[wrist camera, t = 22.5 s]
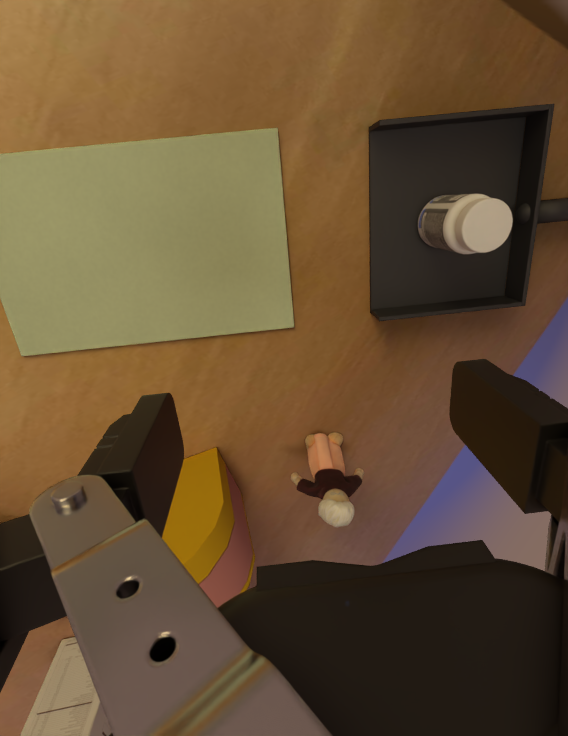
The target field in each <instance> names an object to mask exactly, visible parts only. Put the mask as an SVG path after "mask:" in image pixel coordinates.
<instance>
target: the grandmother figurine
mask: <svg viewBox="0 0 568 736" xmlns="http://www.w3.org/2000/svg"><path fill="white" fill-rule="evenodd" d="M342 442H343V436H342V435H341V434H340V433H335V432H334V433H331V434H329V435H328V436H326V435H325V434H322V433H318V434H312V435H309V436H307V437H306V439H305V444H306V447H307V450H308V461H309V466H310V470H311V473H312V476H313V478H314V480H315V483H313V482H311V481H309V480H306V479H303V478H302V477H300V475H299V474H298V473H293V474H292V475H291V480H292V481H293V482H294V483H295V485H296V486H297V490H298V491H300V492H303V493H305V494H307V495H309V496H313V497H319V498H321V499H323V500H322V501H321V502H320V504H319V508H318V510H319V514H318V515H319V516H321V517H322V519H323V520H324V521H325V522H327V523H328V524H330V525H333V526H334V527H340V526H346V525H348V524H349V523H350V522H351V521H352V519H353V516H354V511H355V510H354V506H353V505H352V503H350V501H349V498H348V497H350V496H351V495H352V494H353V493H354V492H355V491H356V490H357V488H358V487H359V486H360V485H361V483H362V478H363V475H364V471H363V470H362V469H361V468H357V469H356V470H355V472H354V474H353V476H346V477H345V473H346V471H345V465H344V461H343V456H342V452H341V448H340V446H341V444H342Z"/></svg>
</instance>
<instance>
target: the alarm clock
mask: <svg viewBox="0 0 568 736" xmlns="http://www.w3.org/2000/svg"><path fill="white" fill-rule="evenodd" d="M162 539H163V540H164V542H165V543H166V544H167V545H168V547H169V548H170V549H171V550H172V552H173V553H174V554H175V555H176V557H177V558H178V559H179V560H180V562H181V563H182V564H183V565H184V567H185V568H186V569H187V570H188V572H189V573H190V574H191V576H192V577H193V578H194V579H195V581H196V582H197V583H198V584H199V586H200V587H201V588H202V589H203V591H204V592H205V593H206V594H207V596H208V597H209V598H210V599H211V601H212V602H213V603H214V604H215V606H216V607H217V608H218V607H219V606H221V605H222V604H223V603H225V602H227V601H228V600H230V599H231V598H233V597H234V596H236V595H238V594H240V593H242V592H244V591H246V590H247V588H248V587H249V585H250V580H251V575H252V571H253V566H254V561H255V554H254V550H253V546H252V541H251V537H250V532H249V527H248V522H247V517H246V513H245V508H244V503H243V498H242V494H241V492H240V490H239V488H238V487H237V485H236V483H235V481H234V479H233V477H232V475H231V474H230V472H229V470H228V468H227V466H226V465H225V463H224V461H223V459H222V457H221V455H220V453H219V451H218V450H217V448H213V449H210V450H207V451H205V452H202V453H199V454H196V455H194V456H191V457H188V458H186V459H183V465H182V468H181V472H180V475H179V479H178V482H177V486H176V489H175V493H174V497H173V500H172V504H171V507H170V511H169V514H168V518H167V521H166V525H165V528H164V532H163V536H162Z"/></svg>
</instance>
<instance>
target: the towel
mask: <svg viewBox="0 0 568 736" xmlns="http://www.w3.org/2000/svg"><path fill="white" fill-rule="evenodd" d="M0 299H1V302H2V304H3V307H4V310H5V312H6V315H7V318H8V320H9V323H10V326H11V329H12V331H13V334H14V337H15V339H16V342H17V345H18V348H19V350H20V353H21V356H29V355H38V354H47V353H57V352H66V351H76V350H85V349H95V348H104V347H113V346H123V345H132V344H142V343H151V342H161V341H170V340H179V339H189V338H198V337H208V336H217V335H227V334H236V333H245V332H255V331H264V330H274V329H283V328H293V327H294V317H293V305H292V294H291V282H290V270H289V258H288V246H287V234H286V222H285V210H284V199H283V187H282V175H281V163H280V151H279V139H278V128H270V129H259V130H249V131H238V132H227V133H217V134H206V135H196V136H185V137H175V138H164V139H153V140H143V141H132V142H122V143H111V144H100V145H90V146H79V147H69V148H58V149H47V150H37V151H26V152H16V153H5V154H0Z"/></svg>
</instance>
